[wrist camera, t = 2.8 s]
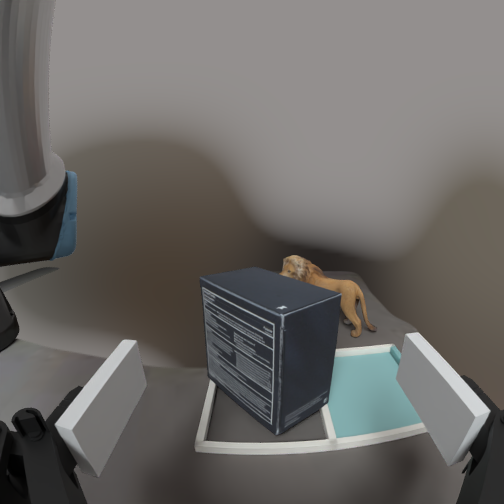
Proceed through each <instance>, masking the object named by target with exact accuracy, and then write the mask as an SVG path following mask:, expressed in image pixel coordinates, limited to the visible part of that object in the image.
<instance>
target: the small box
mask: <svg viewBox="0 0 504 504" xmlns="http://www.w3.org/2000/svg"><path fill="white" fill-rule="evenodd" d="M200 287H201V295H202V304H203V316H204V331H205V344H206V355H207V370H208V377H209V378H210V379H211V380H212V381H213V382H214V383H215V384H216V385H217V386H218V387H219V388H220V389H221V390H223V391H224V392H225V393H226V394H227V395H228V396H229V397H230V398H231V399H233V400H234V401H235V402H236V403H237V404H238V405H240V406H241V407H242V408H243V409H244V410H245V411H247V412H248V413H249V414H250V415H251V416H253V417H254V418H255V419H256V420H257V421H259V422H260V423H261V424H262V425H264V426H265V427H266V428H267V429H269V430H270V431H271V432H273V433H274V434H275V435H279V434H281V433H283V432H285V431H286V430H287V429H289V428H290V427H293V426H294V425H295V424H297V423H298V422H300V421H302V420H303V419H305V418H307V417H308V416H310V415H311V414H313V413H314V412H317V411H318V410H319V409H321V408H322V407H323V406H324V405H326V404H327V403H328V402H329V394H330V387H331V381H332V373H333V366H334V359H335V351H336V343H337V334H338V325H339V315H340V303H341V296H342V294H341V293H339V292H335V291H332V290H329V289H325V288H322V287H319V286H316V285H312V284H309V283H306V282H303V281H299V280H296V279H293V278H290V277H287V276H283V275H280V274H277V273H274V272H271V271H267V270H264V269H261V268H258V267H251V268H245V269H240V270H235V271H229V272H223V273H218V274H212V275H206V276H201V277H200Z"/></svg>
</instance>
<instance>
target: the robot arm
mask: <svg viewBox="0 0 504 504" xmlns="http://www.w3.org/2000/svg"><path fill="white" fill-rule="evenodd" d="M55 2H56V0H0V267H2V266H10V265H16V264H24V263H32V262H40V261H47V260H50V261H52V260H54V259H55V258H60V257H65V256H69V255H70V254H72V253H73V252H74V250H75V248H76V234H77V232H76V231H77V229H76V227H77V222H76V220H77V219H76V212H77V209H76V208H77V175H76V174H75V172H70V171H65V167H64V163H63V161H62V159H61V158H60V157H59V156H58V155H56V154H55V153H53V152H52V151H51V139H50V123H49V58H50V43H51V33H52V24H53V15H54V9H55ZM18 333H19V325H18V322H17V318H16V315H15V313H14V311H13V310H12V308H11V306H10V304H9V302H8V301H7V299H6V297H5V295H4V293H3V292H2V290H1V288H0V350H2V349H4V348H5V347H7V346H8V345H9V344H10V343H11V342H12V341H13V340H14V339H15V338H16V337H17V335H18ZM396 380H397V382H398V383H399V385H400V387H401V388H402V390H403V391H404V393H405V395H406V396H407V398H408V399H409V401H410V403H411V404H412V406H413V407H414V409H415V411H416V412H417V414H418V416H419V417H420V419H421V421H422V422H423V424H424V426H425V427H426V429H427V431H428V432H429V434H430V436H431V437H432V439H433V441H434V443H435V444H436V446H437V448H438V449H439V451H440V453H441V455H442V456H443V458H444V460H445V462H446V464H447V465H448V466H451V465H453V464H456V463H458V462H461V461H463V460H464V458H465V456H466V455H467V453H468V451H470V453H471V455H472V457H471V459H470V460H469V462H468V464H467V465H466V467H465V468H464V470H463V471H462V473H464V472H465V471H466V470H467V471H466V475H465V478H464V482H463V485H462V488H461V491H460V494H459V497H458V500H457V503H456V504H504V410H501V411H500V409H499V408H498V407H497V406H496V405H495V404H494V403H493V402H492V401H491V400H490V398H489V397H488V396H487V395H486V394H485V393H483V391H482V390H481V388H479V386H478V385H477V384H476V383H475V382H474V381H473V380H472V379H470V378H468V377H466V376H464V375H463V376H459V375H458V374H457V373H456V372H455V370H454V369H453V368H452V367H451V366H450V365H449V364H448V363H447V362H446V361H445V360H444V359H443V358H442V357H441V355H440V354H439V353H438V352H436V350H435V349H434V348H433V347H432V346H431V345H430V344H429V343H428V342H427V341H426V340H425V339H424V338H423V337H422V336H421V335H420V334H419V333H418V332H417V333H410V334H405V339H404V344H403V349H402V354H401V358H400V363H399V367H398V371H397V375H396ZM146 386H147V382H146V378H145V374H144V370H143V366H142V361H141V357H140V352H139V348H138V343H137V341H135V340H123V341H122V342H121V343H120V344H119V345H118V347H117V348H116V349H115V350H114V351H113V352H112V354H111V355H110V356H109V357H108V359H107V360H106V361H105V362H104V363H103V365H102V366H101V367H100V368H99V369H98V371H97V372H96V373H95V374H94V376H93V377H92V378H91V379H90V380H89V382H88V383H87V384H86V385H85V387H80V386H78V387H77V388H75V389H73V390H72V391H70V392H69V393H68V394H67V396H66V397H65V398H64V400H62V402H61V403H60V404H59V406H57V408H56V409H55V410H54V411H53V412H52V414H51V415H50V416H49V417H48V419H47V420H46V421H44V419H43V417H42V415H41V413H40V411H38V410H37V409H34V408H24V409H21V410H19V411H18V412H16V413H15V415H14V416H13V417H12V423H13V425H14V427H15V428H16V430H17V432H14V431H10V430H9V429H8V427H7V425H6V424H5V423H4V422H3V421H0V504H87V502H86V499H85V497H84V494H83V491H82V489H81V486H80V483H79V481H78V478H77V475H76V473H75V472H74V468H75V466H76V465H78V466H79V468H80V469H81V471H82V472H83V473H85V474H89V475H92V476H95V477H98V478H99V477H100V475H101V473H102V471H103V469H104V467H105V465H106V463H107V461H108V459H109V457H110V455H111V453H112V451H113V449H114V447H115V445H116V443H117V441H118V439H119V437H120V435H121V434H122V432H123V430H124V428H125V426H126V424H127V422H128V420H129V418H130V416H131V415H132V413H133V411H134V409H135V407H136V405H137V403H138V401H139V400H140V398H141V396H142V394H143V392H144V390H145V388H146Z"/></svg>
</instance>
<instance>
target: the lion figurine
mask: <svg viewBox="0 0 504 504" xmlns="http://www.w3.org/2000/svg"><path fill="white" fill-rule="evenodd" d="M280 275H283V276H287V277H290V278H293V279H296V280H299V281H303V282H306V283H309V284H312V285H316V286H319V287H322V288H325V289H329V290H332V291H335V292H339V293H341V294H342V296H341V303H340V305H341V308H342V310H343V312H344V314H345V315H346V317H347V318H346V319H344V323H346V324H351V323H353V325H354V326H355V330H352V331H351V336H353V337H358V336H359V335H360V334H361V331H362V328H361V320H360V319H359V318H358V316H357V314H356V308H357V305H358V303H359V300H360V304H361V309H362V313H363V317H364V321H365V323H366V325H367V326H368V328H369V329H370V330H372V331H377V327H375V326H374V325H372V324H370V323H369V321H368V318H367V312H366V305H365V300H364V296H363V293H362V291H361V290H360V288H359V286H358V285H357V284H356V283H354V282H353V281H350V280H335V279H330V278H327V276H325V275H324V274H323V272H322V271H321V269H320V268H318V267H317V266H316V265H313V264H311V262H310V261H309V260H306V259H305V258H303V257H299V256H296V255H294V256H289V257H287V258H286V259H284V264H283V271H282V272H281V273H280Z"/></svg>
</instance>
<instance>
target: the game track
mask: <svg viewBox="0 0 504 504" xmlns="http://www.w3.org/2000/svg"><path fill="white" fill-rule="evenodd" d="M389 352H390V353H389ZM391 355H392V356H391ZM393 358H394V359H393ZM400 358H401V353H400V352H399V350H398V349H397V348H396V347H395V345H394V344H386V345H377V346H367V347H356V348H344V349H336V351H335V359H334V366H333V373H332V381H331V387H330V394H329V402H328V403H327V404H326V405H324V406H323V407H322V408H321V409H319V410H320V414H321V419H322V423H323V427H324V432H325V436H326V439H325V440H314V441H300V442H279V443H235V442H214V441H206V438H207V433H208V428H209V423H210V418H211V414H212V409H213V404H214V399H215V394H216V389H217V385H216V384H215V383H214V382H213V381H212V380H211V379H210V383H209V387H208V391H207V395H206V400H205V404H204V408H203V412H202V416H201V420H200V424H199V428H198V432H197V436H196V441H195V445H194V446H195V451H196V452H205V453H219V454H244V455H271V454H296V453H311V452H322V451H331V450H339V449H347V448H354V447H360V446H366V445H372V444H377V443H383V442H388V441H392V440H397V439H401V438H405V437H410V436H414V435H417V434H421V433H425V432H428V431H427V429H426V427H425V426H424V424H423V422H422V421H421V419H420V417H419V416H418V414H417V412H416V411H415V409H414V407H413V406H412V404H411V403H410V401H409V399H408V398H407V396H406V395H405V393H404V391H403V390H402V388H401V387H400V385H399V383H398V382H397V380H396V375H397V371H398V367H399V366H398V365H399V363H400ZM396 362H397V363H396Z"/></svg>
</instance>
